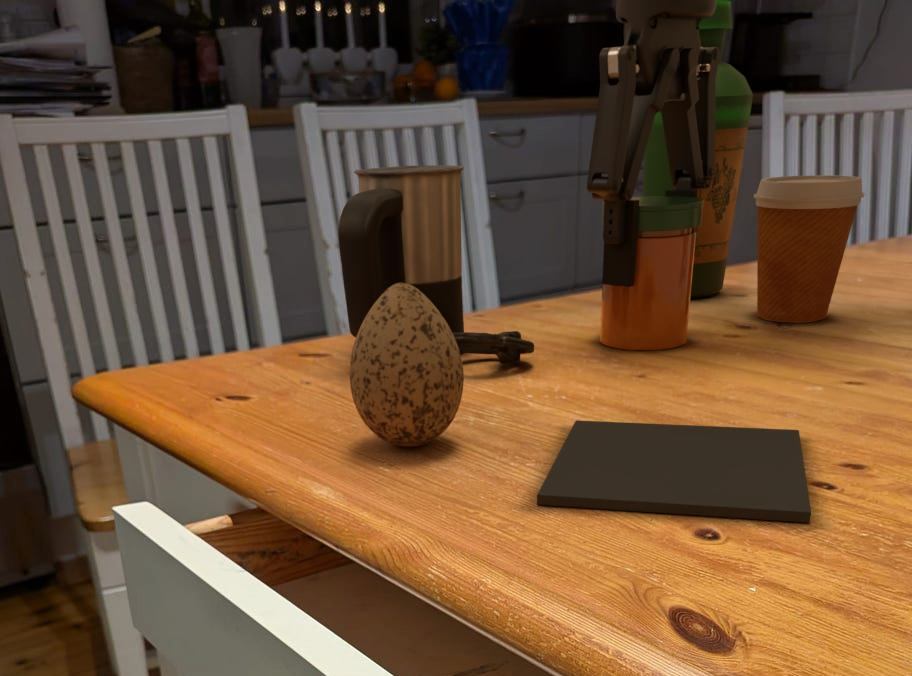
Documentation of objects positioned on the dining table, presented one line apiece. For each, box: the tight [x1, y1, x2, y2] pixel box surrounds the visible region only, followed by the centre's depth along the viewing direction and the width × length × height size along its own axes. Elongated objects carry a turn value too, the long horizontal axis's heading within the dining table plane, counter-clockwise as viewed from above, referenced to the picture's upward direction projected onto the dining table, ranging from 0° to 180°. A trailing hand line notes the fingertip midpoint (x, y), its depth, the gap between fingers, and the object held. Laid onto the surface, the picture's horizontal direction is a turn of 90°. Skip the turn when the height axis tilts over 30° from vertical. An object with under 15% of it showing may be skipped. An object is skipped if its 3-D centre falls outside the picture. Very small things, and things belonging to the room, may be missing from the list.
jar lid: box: [601, 196, 704, 231], centre depth 81 cm, size 8×8×2 cm
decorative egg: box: [349, 282, 465, 448], centre depth 60 cm, size 7×7×10 cm
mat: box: [536, 419, 812, 524], centre depth 56 cm, size 14×14×1 cm
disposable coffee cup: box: [753, 174, 866, 324], centre depth 89 cm, size 10×10×12 cm
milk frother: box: [337, 164, 535, 365], centre depth 80 cm, size 14×16×15 cm
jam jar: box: [599, 228, 696, 351], centre depth 83 cm, size 8×8×11 cm
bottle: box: [642, 0, 754, 300], centre depth 98 cm, size 11×11×28 cm
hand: (647, 277), depth 83 cm, fingers closed on jar lid, 8 cm apart
